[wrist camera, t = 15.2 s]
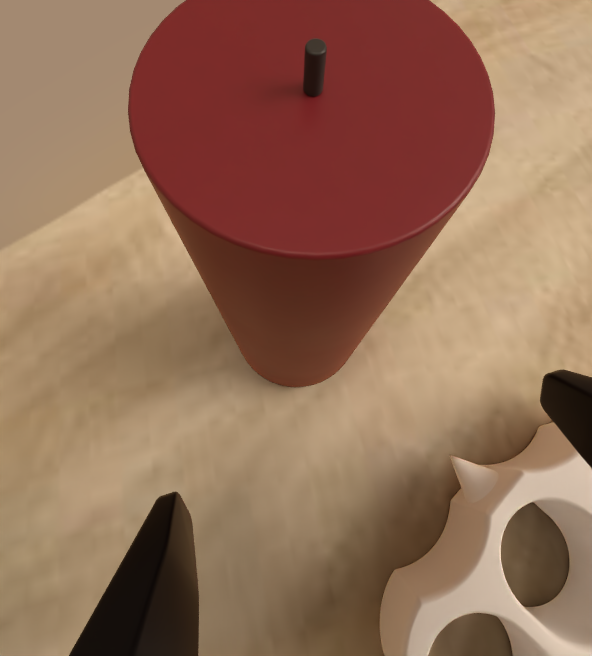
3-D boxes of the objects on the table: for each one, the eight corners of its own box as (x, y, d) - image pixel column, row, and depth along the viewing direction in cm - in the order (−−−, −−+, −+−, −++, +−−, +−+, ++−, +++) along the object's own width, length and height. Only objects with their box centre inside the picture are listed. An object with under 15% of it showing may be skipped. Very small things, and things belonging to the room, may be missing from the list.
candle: (380, 338, 18) (611, 79, 5) (285, 412, 17) (273, 325, 4) (306, 251, 20) (343, -139, 6) (213, 316, 19) (28, 12, 5)
